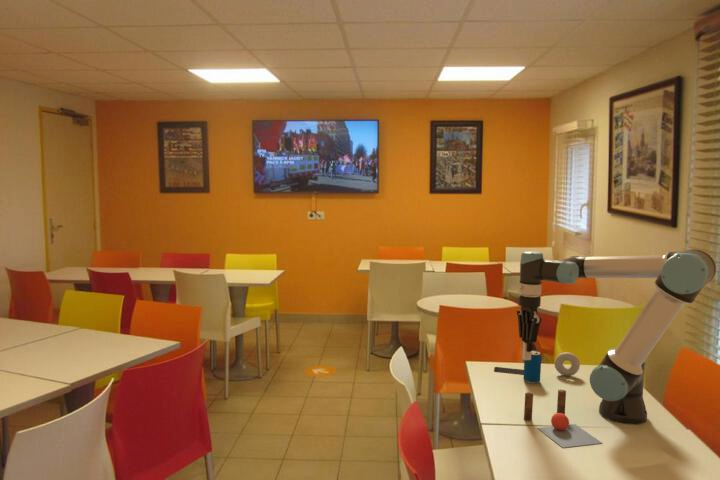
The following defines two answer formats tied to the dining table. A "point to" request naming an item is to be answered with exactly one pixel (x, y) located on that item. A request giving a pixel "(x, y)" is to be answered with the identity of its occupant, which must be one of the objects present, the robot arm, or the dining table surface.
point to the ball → (560, 421)
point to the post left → (528, 406)
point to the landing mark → (570, 436)
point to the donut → (570, 357)
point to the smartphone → (509, 370)
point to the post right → (561, 401)
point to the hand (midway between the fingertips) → (526, 359)
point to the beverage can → (532, 368)
